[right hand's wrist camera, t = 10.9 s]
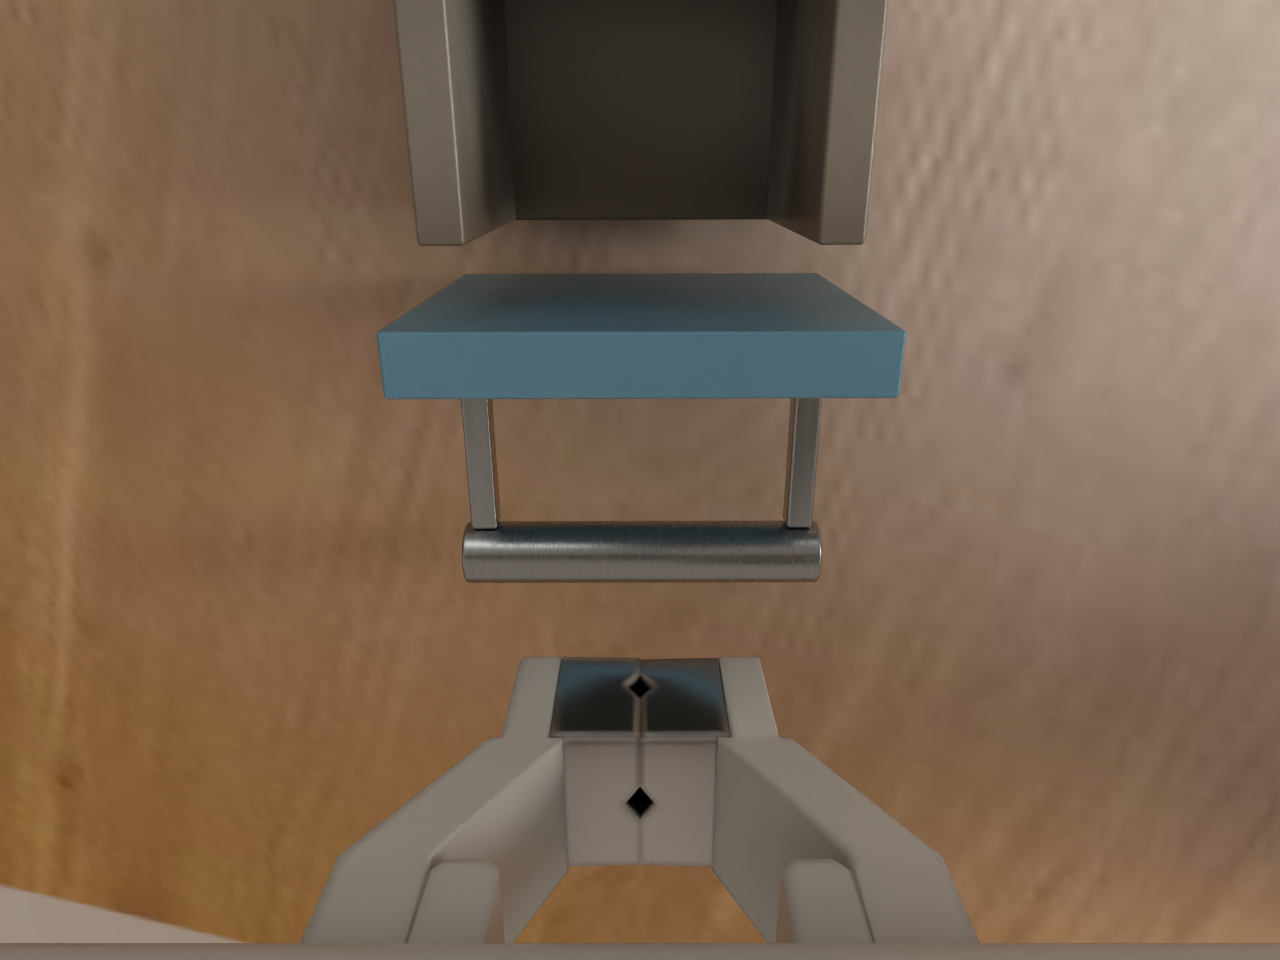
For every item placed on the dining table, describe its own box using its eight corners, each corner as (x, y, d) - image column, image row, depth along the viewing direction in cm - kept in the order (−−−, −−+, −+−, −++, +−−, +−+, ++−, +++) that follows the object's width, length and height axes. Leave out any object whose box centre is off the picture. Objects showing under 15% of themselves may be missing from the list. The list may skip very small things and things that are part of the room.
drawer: (800, 517, 23) (867, 669, 16) (483, 517, 23) (416, 670, 16) (877, -498, 16) (1067, -1028, 9) (402, -496, 16) (208, -1025, 9)
